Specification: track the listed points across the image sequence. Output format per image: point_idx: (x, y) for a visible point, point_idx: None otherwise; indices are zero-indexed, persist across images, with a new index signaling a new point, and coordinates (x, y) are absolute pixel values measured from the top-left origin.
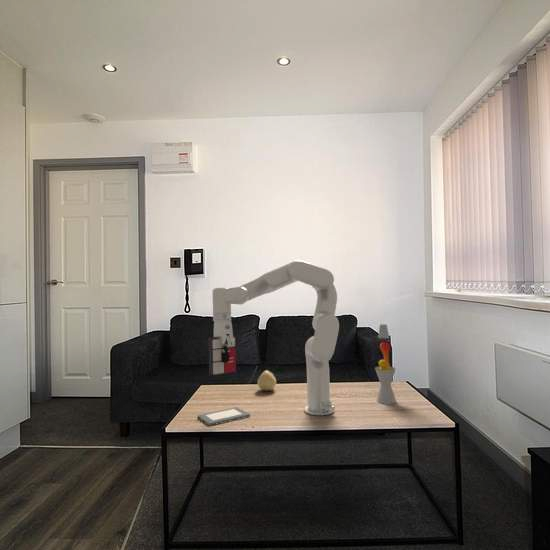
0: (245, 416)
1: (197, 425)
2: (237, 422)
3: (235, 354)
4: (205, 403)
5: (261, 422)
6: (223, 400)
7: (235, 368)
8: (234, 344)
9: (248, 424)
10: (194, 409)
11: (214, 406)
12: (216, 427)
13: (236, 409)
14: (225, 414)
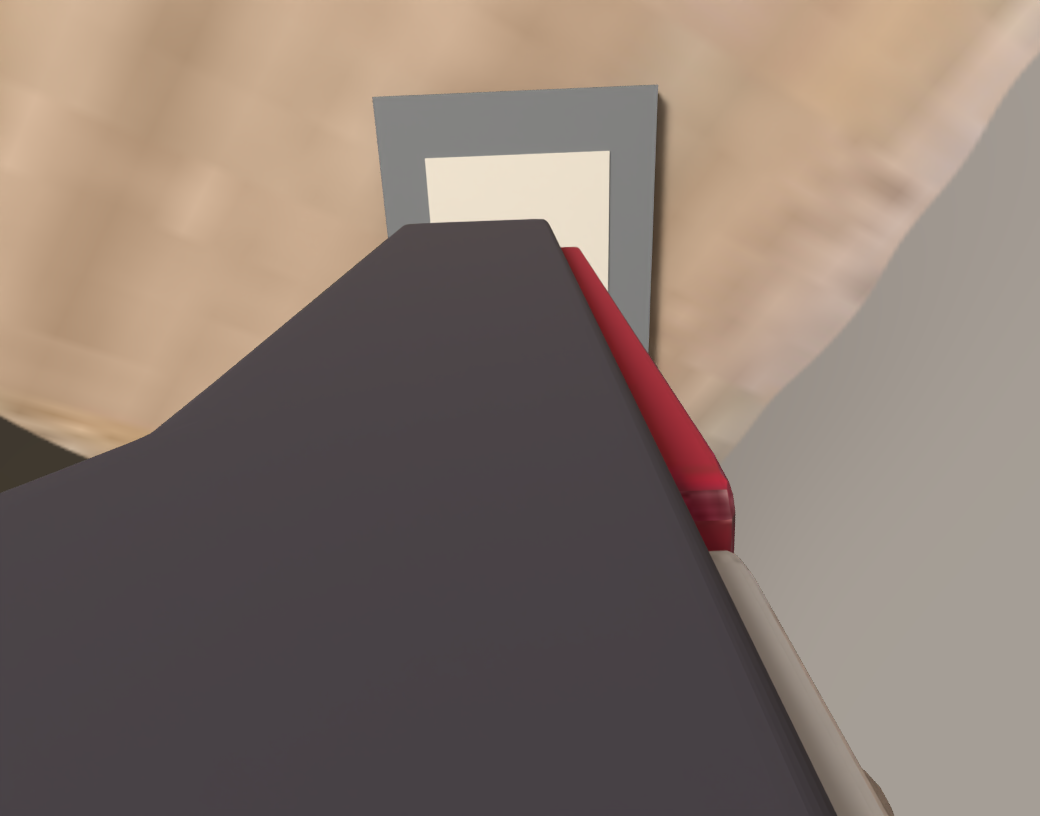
0: (652, 138)
1: None
2: (711, 255)
3: (588, 311)
4: (47, 288)
5: (860, 70)
6: (4, 86)
7: (582, 253)
8: (786, 688)
9: (816, 197)
10: None
11: (181, 251)
12: (698, 428)
13: (448, 137)
14: None
